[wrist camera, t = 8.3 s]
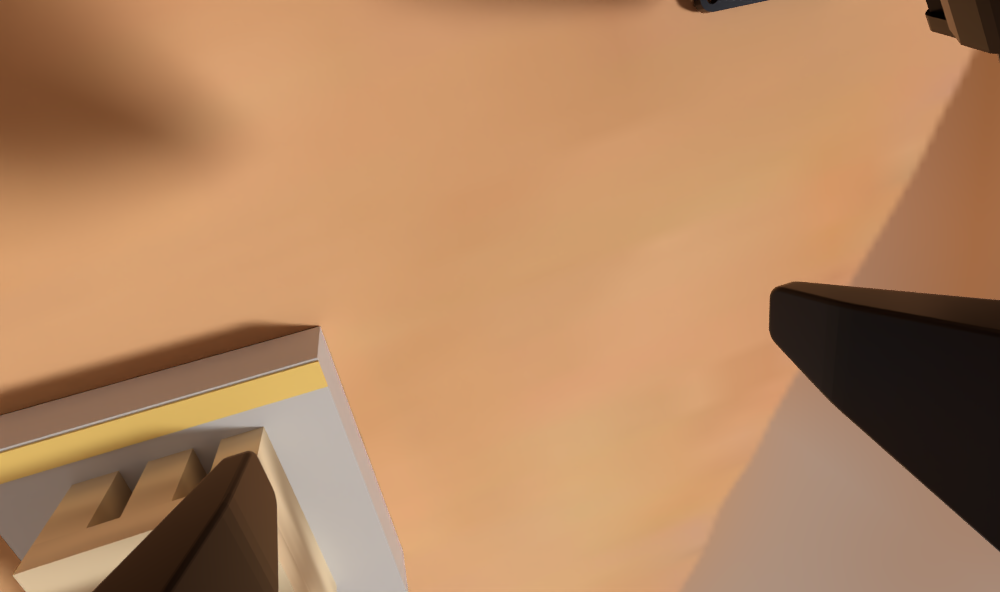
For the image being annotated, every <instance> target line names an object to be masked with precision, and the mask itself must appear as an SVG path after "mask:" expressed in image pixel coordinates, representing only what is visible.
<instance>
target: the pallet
mask: <svg viewBox="0 0 1000 592" xmlns="http://www.w3.org/2000/svg"><path fill="white" fill-rule="evenodd" d="M245 451H252V452H254V453H255V454H256V455H257V456H258V458H259V460H260V462H261V464H262V466H263V469H264V471H265V473H266V475H267V477H268V479H269V481H270V483H271V485H272V487H273V490H274V492H275V496H276V501H277V527H278V579H279V592H337V585H336V583H335V581H334V579H333V577H332V574H331V572H330V570H329V568H328V566H327V563H326V561H325V559H324V557H323V555H322V552H321V550H320V548H319V546H318V544H317V542H316V539H315V537H314V535H313V533H312V531H311V528H310V526H309V524H308V522H307V520H306V517H305V515H304V513H303V511H302V509H301V507H300V504H299V502H298V500H297V498H296V496H295V493H294V491H293V489H292V487H291V485H290V483H289V480H288V478H287V476H286V474H285V472H284V469H283V467H282V465H281V463H280V461H279V458H278V456H277V454H276V452H275V450H274V448H273V445H272V443H271V441H270V439H269V437H268V434H267V432H266V430H265V428H264V427H261V428H258V429H254V430H251V431H248V432H244V433H241V434H238V435H234V436H231V437H228V438H225V439H221V441H220V444H219V447H218V450H217V453H216V456H215V459H214V462H213V465H212V468H211V471H212V470H213V469H214V468H215V467H216V465H217V464H218V463H219V462H220V461H221V460H223V459H224V458H226V457H229V456H232V455H235V454H238V453H242V452H245ZM211 471H210V472H211ZM206 476H207V474H206V472H205V470H204V468H203V466H202V464H201V462H200V461H199V459H198V457H197V455H196V453H195V451H194V449H193V448H192V449H188V450H185V451H182V452H179V453H175V454H172V455H169V456H165V457H162V458H159V459H156V460H152V461H149V462H148V463H147V465H146V467H145V469H144V471H143V473H142V475H141V477H140V479H139V481H138V483H137V485H136V487H135V489H134V491H133V493H132V491H131V490H130V488H129V486H128V485H127V483H126V482H125V480H124V478H123V477H122V475H121V474H120V472H119V471H116V472H113V473H109V474H106V475H103V476H100V477H96V478H93V479H90V480H86V481H83V482H80V483H77V484H73V485H72V486H71V487H70V489H69V490H68V492H67V493H66V495H65V496H64V498H63V499H62V501H61V502H60V504H59V505H58V507H57V508H56V510H55V511H54V513H53V514H52V516H51V517H50V519H49V520H48V522H47V523H46V525H45V526H44V528H43V529H42V531H41V532H40V534H39V536H38V537H37V539H36V540H35V542H34V543H33V545H32V546H31V548H30V549H29V551H28V552H27V554H26V555H25V557H24V558H23V560H22V561H21V563H20V564H19V566H18V567H17V569H16V570H15V572H14V573H13V575H12V576H13V577H14V578H15V579H16V580H17V582H18V583H19V584H20V585H21V587H22V588H23V589H24V590H25V592H92V591H93V590H94V589H95V588H96V587H97V586H98V585H99V584H100V583H101V582H102V581H103V580H104V579H105V578H106V577H107V576H108V575H109V574H110V573H111V572H112V571H113V570H114V569H115V568H116V567H117V566H118V565H119V564H120V563H121V562H122V561H123V560H124V559H125V558H126V557H127V556H128V555H129V554H130V553H131V552H132V551H133V550H134V549H135V548H136V547H137V546H138V545H139V544H140V543H141V542H142V541H143V539H144V538H145V537H146V536H147V535H148V534H149V533H150V532H151V531H152V530H153V529H154V528H155V527H156V526H157V525H158V524H159V523H160V522H161V521H162V520H163V519H164V518H165V517H166V516H167V515H168V514H169V513H170V512H171V511H172V510H173V509H174V508H175V507H176V506H177V505H178V504H179V503H180V502H181V501H182V500H183V499H184V498H185V497H186V496H187V495H188V494H189V493H190V492H191V491H192V490H193V489H194V488H195V487H196V486H197V485H198V484H199V483H200V482H201V481H202V480H203V479H204V478H205V477H206Z"/></svg>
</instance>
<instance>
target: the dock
mask: <svg viewBox="0 0 1000 592" xmlns="http://www.w3.org/2000/svg"><path fill="white" fill-rule="evenodd" d="M261 427H264V428H265V430H266V432H267V434H268V437H269V439H270V441H271V443H272V445H273V448H274V450H275V452H276V454H277V456H278V458H279V461H280V463H281V465H282V467H283V469H284V472H285V474H286V476H287V478H288V480H289V483H290V485H291V487H292V489H293V491H294V493H295V496H296V498H297V500H298V502H299V504H300V507H301V509H302V511H303V513H304V515H305V517H306V520H307V522H308V524H309V526H310V528H311V531H312V533H313V535H314V537H315V539H316V542H317V544H318V546H319V548H320V550H321V552H322V555H323V557H324V559H325V561H326V563H327V566H328V568H329V570H330V572H331V574H332V577H333V579H334V581H335V583H336V585H337V592H408V586H407V578H406V570H405V562H404V554H403V550H402V547H401V544H400V542H399V539H398V536H397V533H396V531H395V528H394V525H393V523H392V520H391V517H390V515H389V512H388V509H387V506H386V504H385V501H384V498H383V496H382V493H381V490H380V487H379V485H378V482H377V479H376V477H375V474H374V471H373V468H372V466H371V463H370V460H369V458H368V455H367V452H366V449H365V447H364V444H363V441H362V439H361V436H360V433H359V430H358V428H357V425H356V422H355V420H354V417H353V414H352V411H351V409H350V406H349V403H348V401H347V398H346V395H345V392H344V390H343V387H342V384H341V382H340V379H339V376H338V373H337V371H336V368H335V365H334V363H333V360H332V357H331V354H330V352H329V349H328V346H327V344H326V341H325V338H324V335H323V333H322V330H321V327H320V326H319V327H315V328H312V329H308V330H305V331H301V332H298V333H294V334H290V335H287V336H283V337H280V338H276V339H272V340H269V341H265V342H262V343H258V344H255V345H251V346H247V347H244V348H240V349H237V350H233V351H230V352H226V353H222V354H219V355H215V356H212V357H208V358H204V359H201V360H197V361H194V362H190V363H187V364H183V365H179V366H176V367H172V368H169V369H165V370H162V371H158V372H154V373H151V374H147V375H144V376H140V377H136V378H133V379H129V380H126V381H122V382H119V383H115V384H111V385H108V386H104V387H101V388H97V389H94V390H90V391H86V392H83V393H79V394H76V395H72V396H68V397H65V398H61V399H58V400H54V401H51V402H47V403H43V404H40V405H36V406H33V407H29V408H26V409H22V410H18V411H15V412H11V413H8V414H4V415H0V535H1V536H2V538H3V539H4V540H5V541H6V543H7V544H8V545H9V547H10V548H11V549H12V550H13V552H14V553H15V554H16V555H17V557H18V558H19V559H20V560H21V561H22V560H23V558H24V557H25V555H26V554H27V552H28V551H29V549H30V548H31V546H32V545H33V543H34V542H35V540H36V539H37V537H38V536H39V534H40V532H41V531H42V529H43V528H44V526H45V525H46V523H47V522H48V520H49V519H50V517H51V516H52V514H53V513H54V511H55V510H56V508H57V507H58V505H59V504H60V502H61V501H62V499H63V498H64V496H65V495H66V493H67V492H68V490H69V489H70V487H71V486H72V485H73V484H77V483H80V482H83V481H86V480H90V479H93V478H96V477H100V476H103V475H106V474H109V473H113V472H116V471H119V472H120V474H121V475H122V477H123V478H124V480H125V482H126V483H127V485H128V486H129V488H130V490H131V491H132V493H133V491H134V489H135V487H136V485H137V483H138V481H139V479H140V477H141V475H142V473H143V471H144V469H145V467H146V465H147V463H148V462H149V461H152V460H156V459H159V458H162V457H165V456H169V455H172V454H175V453H179V452H182V451H185V450H188V449H192V448H193V449H194V451H195V453H196V455H197V457H198V459H199V461H200V462H201V464H202V466H203V468H204V470H205V472H206V474H207V475H208V474H209V473H210V471H211V468H212V465H213V462H214V459H215V456H216V453H217V450H218V447H219V444H220V441H221V439H225V438H228V437H231V436H234V435H238V434H241V433H244V432H248V431H251V430H254V429H258V428H261Z"/></svg>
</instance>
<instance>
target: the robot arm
mask: <svg viewBox="0 0 1000 592" xmlns="http://www.w3.org/2000/svg"><path fill="white" fill-rule="evenodd" d="M762 1H767V0H711V2H710V4H709V3H708V1H707V0H694V6H695V7H696V9H697V10H698V11H699V12H701V13H709V12H714V11H719V10H724V9H729V8H734V7H738V6H743V5H748V4H753V3H757V2H762ZM926 2H927V5H928V8H929V9H928V10H927V11H926V13H925V15H926V18H927V21H928V24H929V27H930V30H931V31H933V32H936V33H940V34H944V35H947V36H951V37H954V38H956V39H957V40H958V41H959V43H960V44H961V45H964V46H967V47H971V48H974V49H977V50H981V51H984V52H988V53H993V54H997V55H998V59H999V62H1000V0H926ZM769 331H770V335H771V337H772V339H773V341H774V342H775V343H776V344H777V345H778V346H779V348H780V349H781V350H782V351H783V352H784V353H785V354H786V355H787V356H788V357H789V358H790V359H791V360H792V361H793V363H794V364H795V365H796V366H797V367H798V368H799V369H800V370H801V371H802V372H803V373H804V374H805V375H806V376H807V377H808V379H809V380H810V381H811V382H812V383H814V385H815V386H816V387H817V388H818V389H819V390H820V391H821V392H822V393H823V395H825V397H826V398H828V400H829V401H830V402H831V403H832V404H834V405H835V406H836V407H837V408H838V409H839V410H840V411H841V412H842V413H843V414H844V415H846V416H847V417H848V418H849V419H850V420H851V421H852V422H853V423H855V424H856V425H857V426H858V427H859V428H860V429H862V431H864V432H865V433H866V434H867V435H868V436H869V437H871V438H872V439H873V440H874V441H875V442H876V443H877V444H878V445H879V446H881V447H882V448H883V449H884V450H885V451H886V452H887V453H888V454H890V455H891V456H892V457H893V458H894V459H895V460H896V461H898V462H899V463H900V464H901V465H902V466H903V467H905V469H907V470H908V471H909V472H910V473H911V474H912V475H913V476H915V477H916V478H917V479H918V480H919V481H920V482H921V483H922V484H924V485H925V486H926V487H927V488H928V489H929V490H930V491H931V492H933V493H934V494H935V495H936V496H937V497H938V498H939V499H941V500H942V501H943V502H944V503H945V504H946V505H947V506H949V507H950V508H951V509H952V510H953V511H954V512H955V513H956V514H958V515H959V516H960V517H961V518H962V519H963V520H964V521H965V522H967V523H968V524H969V525H970V526H971V527H972V528H973V529H974V530H976V531H977V532H978V533H979V534H980V535H981V536H982V537H984V538H985V539H986V540H987V541H988V542H989V543H990V544H991V545H993V546H994V547H995V548H996V549H997V550H998V551H1000V300H991V299H980V298H970V297H959V296H948V295H936V294H927V293H915V292H905V291H894V290H883V289H873V288H861V287H851V286H840V285H829V284H819V283H808V282H791V283H787V284H784V285H781V286H778V287H775V288H774V289H773V290H772V292H771V294H770V311H769ZM92 592H279V579H278V527H277V501H276V496H275V492H274V490H273V487H272V485H271V483H270V481H269V479H268V477H267V475H266V473H265V471H264V469H263V466H262V464H261V462H260V460H259V458H258V456H257V455H256V454H255V453H254V452H252V451H245V452H242V453H238V454H235V455H232V456H229V457H226V458H224V459H223V460H221V461H220V462H219V463H218V464H217V465H216V467H215V468H214V469H213V470H212V471H211V472H210V473H209V474H208V475H207V476H206V477H205V478H204V479H203V480H202V481H201V482H200V483H199V484H198V485H197V486H196V487H195V488H194V489H193V490H192V491H191V492H190V493H189V494H188V495H187V496H186V497H185V498H184V499H183V500H182V501H181V502H180V503H179V504H178V505H177V506H176V507H175V508H174V509H173V510H172V511H171V512H170V513H169V514H168V515H167V516H166V517H165V518H164V519H163V520H162V521H161V522H160V523H159V524H158V525H157V526H156V527H155V528H154V529H153V530H152V531H151V532H150V533H149V534H148V535H147V536H146V537H145V538H144V539H143V541H142V542H141V543H140V544H139V545H138V546H137V547H136V548H135V549H134V550H133V551H132V552H131V553H130V554H129V555H128V556H127V557H126V558H125V559H124V560H123V561H122V562H121V563H120V564H119V565H118V566H117V567H116V568H115V569H114V570H113V571H112V572H111V573H110V574H109V575H108V576H107V577H106V578H105V579H104V580H103V581H102V582H101V583H100V584H99V585H98V586H97V587H96V588H95V589H94V590H93V591H92Z"/></svg>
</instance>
